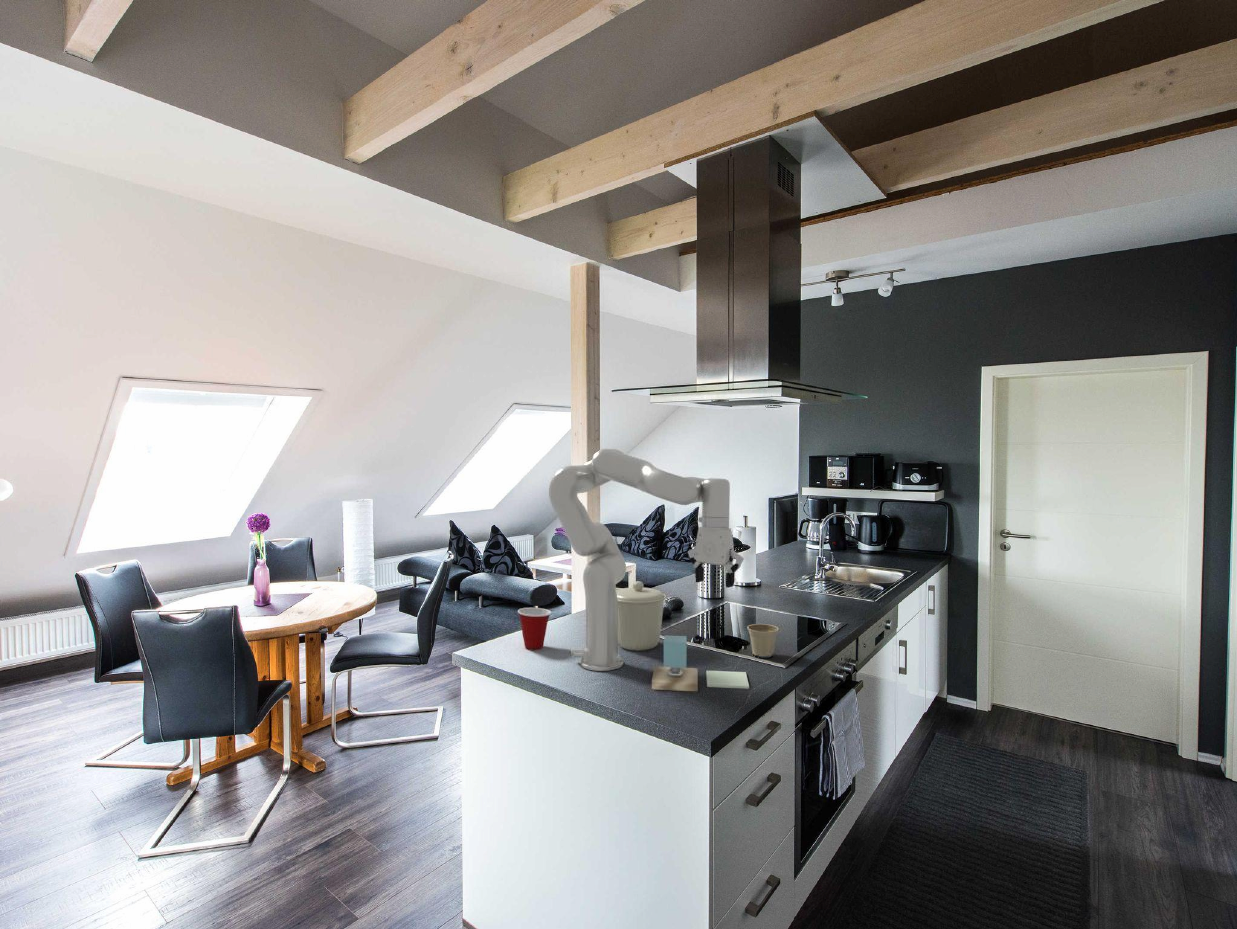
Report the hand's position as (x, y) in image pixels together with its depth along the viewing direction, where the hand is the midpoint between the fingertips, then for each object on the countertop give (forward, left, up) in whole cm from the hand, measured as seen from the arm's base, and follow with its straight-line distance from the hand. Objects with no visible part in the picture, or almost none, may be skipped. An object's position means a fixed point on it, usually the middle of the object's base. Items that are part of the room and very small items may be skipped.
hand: (714, 584), depth 174 cm
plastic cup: (-57, +20, -26) cm, 66 cm away
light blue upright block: (-11, -6, -21) cm, 24 cm away
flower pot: (+15, +20, -26) cm, 36 cm away
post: (-11, -6, -24) cm, 27 cm away
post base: (-11, -6, -26) cm, 29 cm away
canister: (-24, +25, -26) cm, 43 cm away
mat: (+3, -3, -26) cm, 26 cm away
